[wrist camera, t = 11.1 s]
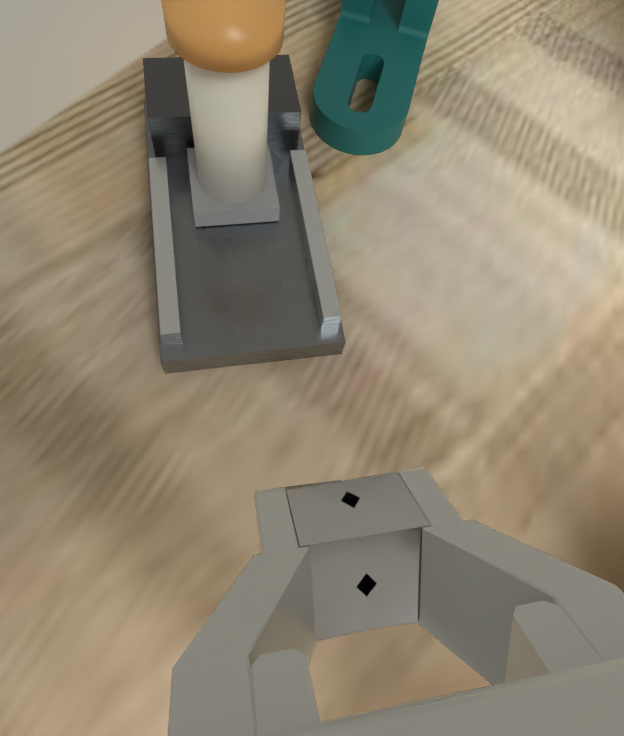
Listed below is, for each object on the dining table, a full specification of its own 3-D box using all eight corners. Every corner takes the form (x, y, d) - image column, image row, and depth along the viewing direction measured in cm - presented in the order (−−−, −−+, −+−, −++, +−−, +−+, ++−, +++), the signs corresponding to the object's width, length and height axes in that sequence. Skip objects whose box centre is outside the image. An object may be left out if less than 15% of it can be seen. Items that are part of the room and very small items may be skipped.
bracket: (355, -8, 46) (373, -123, 39) (432, 12, 46) (465, -98, 39) (299, 142, 38) (310, 34, 31) (392, 167, 38) (424, 65, 31)
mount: (341, 353, 32) (355, 313, 27) (165, 373, 30) (150, 334, 26) (291, 115, 39) (296, 54, 35) (147, 121, 38) (134, 58, 33)
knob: (280, 222, 33) (293, 35, 22) (194, 228, 32) (164, 38, 22) (269, 157, 35) (276, -42, 24) (187, 161, 34) (157, -43, 24)
